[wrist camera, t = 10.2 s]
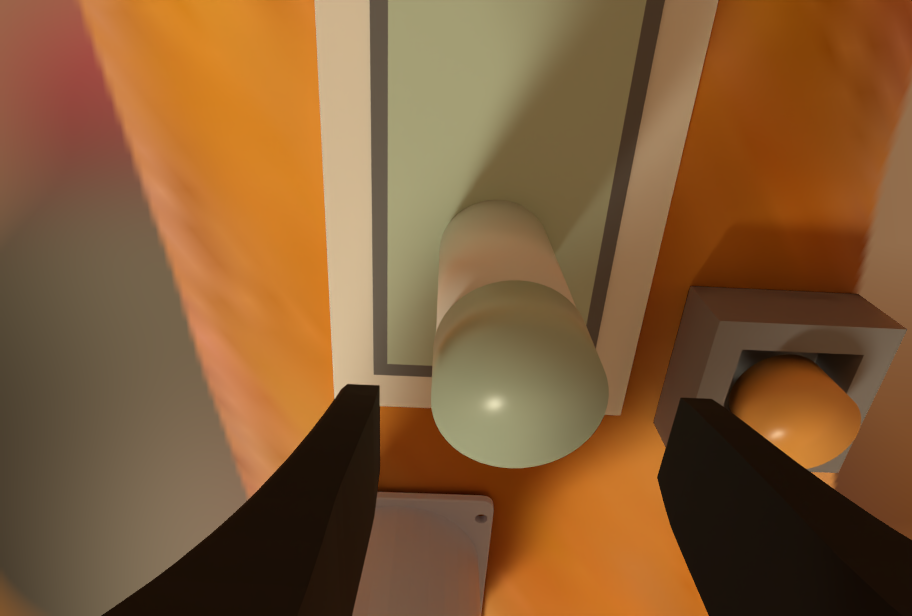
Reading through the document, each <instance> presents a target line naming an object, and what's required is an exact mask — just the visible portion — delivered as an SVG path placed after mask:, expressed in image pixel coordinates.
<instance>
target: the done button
mask: <svg viewBox="0 0 912 616" xmlns="http://www.w3.org/2000/svg"><path fill="white" fill-rule="evenodd" d="M729 408H730V411H731V412H732V413H733V414H734V415H736V416H737V417H738V418H740V419H741V420H742V421H744V422H745V423H746V424H748V425H749V426H750V427H752V428H753V429H754V430H755V431H757V432H758V433H759V434H761V435H762V436H763V437H765V438H766V439H767V440H768V441H770V442H771V443H772V444H774V445H775V446H776V447H778V448H779V449H780V450H782V451H783V452H784V453H785V454H787V455H788V456H789V457H791V458H792V459H793V460H795V461H796V462H797V463H799V464H800V465H801V466H803V467H804V468H805V469H809V468H813V467H816V466H819V465H822V464H824V463H826V462H828V461H830V460H832V459H834V458H835V457H837V456H838V455H840V454H841V453H842V452H843V451H844V450H846V449H847V448H848V447H849V445H850V444H851V443H852V442H853V440H854V439H855V437H856V435H857V434H858V431H859V429H860V425H861V413H860V410H859V408H858V406H857V404H856V403H855V402H854V401H853V400H852V399H851V398H850V397H849V396H848V395H847V394H846V393H845V392H844V391H843V390H842V389H841V388H840V387H839V386H838V385H837V384H836V383H835V382H834V381H833V380H832V379H831V378H830V377H829V376H828V375H827V374H826V373H825V372H824V371H823V370H822V369H821V368H820V367H819V366H818V365H817V364H816V363H815V362H813V361H812V360H810V359H808V358H806V357H803V356H799V355H778V356H773V357H770V358H767V359H764V360H762V361H760V362H758V363H756V364H754V365H753V366H751V367H750V368H748V369H747V370H746V371H745V372H744V373H743V374H742V375H741V376H740V377H739V378H738V379H737V381H736V382H735V384H734V385H733V387H732V390H731V392H730V396H729Z"/></svg>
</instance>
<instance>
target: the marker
mask: <svg viewBox="0 0 912 616" xmlns="http://www.w3.org/2000/svg"><path fill="white" fill-rule="evenodd" d="M608 398H609V386H608V381H607V376H606V373H605V371H604V368H603V365H602V363H601V361H600V358H599V356H598V353H597V351H596V349H595V346H594V344H593V341H592V339H591V336H590V334H589V332H588V329H587V327H586V324H585V322H584V320H583V318H582V316H581V314H580V312H579V311H578V310H577V308H576V306H575V303H574V301H573V298H572V296H571V293H570V291H569V288H568V286H567V283H566V281H565V279H564V276H563V274H562V271H561V269H560V266H559V264H558V261H557V259H556V256H555V254H554V251H553V249H552V247H551V244H550V242H549V239H548V237H547V234H546V232H545V229H544V228H543V226H542V224H541V222H540V221H539V220H538V218H537V217H536V216H535V215H534V214H533V213H532V212H530V211H529V210H528V209H526V208H524V207H523V206H521V205H519V204H516V203H513V202H510V201H505V200H488V201H482V202H478V203H476V204H473V205H471V206H469V207H467V208H465V209H463V210H462V211H461V212H459V213H458V214H457V215H456V216H455V217H454V218H453V219H452V220H451V222H450V223H449V224H448V226H447V227H446V229H445V231H444V233H443V236H442V239H441V243H440V250H439V274H438V299H437V323H436V335H435V338H434V346H433V366H432V387H431V408H432V413H433V417H434V420H435V423H436V425H437V427H438V429H439V431H440V433H441V434H442V435H443V437H444V438H445V439H446V440H447V441H448V442H449V443H450V444H451V445H452V446H453V447H454V448H455V449H456V450H458V451H459V452H460V453H462V454H464V455H465V456H467V457H469V458H471V459H473V460H475V461H478V462H480V463H484V464H487V465H490V466H496V467H502V468H527V467H534V466H539V465H543V464H547V463H550V462H553V461H555V460H558V459H560V458H562V457H564V456H566V455H568V454H570V453H571V452H573V451H574V450H576V449H577V448H579V447H580V446H581V445H582V444H583V443H585V442H586V441H587V440H588V439H589V438H590V437H591V435H592V434H593V433H594V432H595V431H596V429H597V428H598V426H599V425H600V423H601V421H602V419H603V417H604V415H605V412H606V408H607V405H608Z"/></svg>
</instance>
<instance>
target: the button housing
mask: <svg viewBox="0 0 912 616" xmlns="http://www.w3.org/2000/svg"><path fill="white" fill-rule="evenodd" d="M906 331H907V329H906V328H904V327H903V326H902V325H900V324H899V323H898V322H896V321H895V320H893V319H892V318H891V317H889V316H888V315H886V314H885V313H883V312H882V311H881V310H879V309H878V308H877V307H875V306H874V305H872V304H871V303H870V302H868V301H867V300H866V299H864V298H863V297H861V296H860V295H859V294H847V293H826V292H805V291H784V290H763V289H742V288H721V287H700V286H690V289H689V293H688V297H687V300H686V304H685V308H684V311H683V315H682V319H681V322H680V326H679V330H678V334H677V337H676V341H675V345H674V348H673V352H672V356H671V359H670V363H669V367H668V370H667V374H666V378H665V381H664V385H663V389H662V393H661V396H660V400H659V404H658V407H657V411H656V415H655V418H654V424H655V427H656V429H657V431H658V433H659V435H660V437H661V439H662V441H663V443H664V445H665V447H666V446H667V442H668V439H669V435H670V432H671V429H672V425H673V422H674V418H675V415H676V411H677V408H678V405H679V401H680V398H705V399H713V400H714V401H716V402H717V403H719V404H720V405H722V406H723V407H725V408H726V409H728V410H729V411H730V408H729V396H730V392H731V390H732V387H733V385H734V384H735V382H736V381H737V379H738V378H739V377H740V376H741V375H742V374H743V373H744V372H745V371H746V370H747V369H748V368H750V367H751V366H753V365H754V364H756V363H758V362H760V361H762V360H764V359H767V358H770V357H773V356H778V355H799V356H803V357H806V358H808V359H810V360H812V361H813V362H815V363H816V364H817V365H818V366H819V367H820V368H821V369H822V370H823V371H824V372H825V373H826V374H827V375H828V376H829V377H830V378H831V379H832V380H833V381H834V382H835V383H836V384H837V385H838V386H839V387H840V388H841V389H842V390H843V391H844V392H845V393H846V394H847V395H848V396H849V397H850V398H851V399H852V400H853V401H854V402H855V403H856V404H857V406H858V408H859V410H860V413H861V424H862V422H863V420H864V418H865V416H866V414H867V412H868V410H869V408H870V406H871V404H872V402H873V399H874V397H875V395H876V393H877V391H878V389H879V387H880V385H881V383H882V381H883V379H884V377H885V375H886V372H887V370H888V368H889V366H890V364H891V362H892V360H893V358H894V355H895V354H896V352H897V350H898V347H899V345H900V344H901V341H902V339H903V337H904V335H905V333H906ZM730 412H731V411H730ZM860 426H861V425H860ZM853 441H854V440H853ZM852 443H853V442H852ZM852 443H851V444H850V445H849V447H848V448H847V449H846V450H844V451H843V452H842V453H841V454H840V455H838V456H837V457H835V458H834V459H832V460H830V461H828V462H826V463H824V464H822V465H819V466H816V467H813V468H809V469H807V470H808V471H810V472H830V473H838V472H839V470H840V468H841V466H842V464H843V462H844V460H845V457H846V455H847V453H848V451H849V449H850V447H851V445H852Z"/></svg>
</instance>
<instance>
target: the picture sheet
mask: <svg viewBox="0 0 912 616" xmlns="http://www.w3.org/2000/svg"><path fill="white" fill-rule="evenodd" d="M717 5H718V0H315V19H316V39H317V59H318V79H319V99H320V119H321V139H322V159H323V179H324V199H325V219H326V239H327V259H328V279H329V299H330V319H331V339H332V359H333V379H334V399H335V398H336V396H337V395H338V393H339V392H340V390H341V389H342V388H343V387H344V386H346V385H347V384H359V385H380V406H390V407H416V408H431V387H432V366H433V346H434V338H435V335H436V323H437V299H438V274H439V250H440V243H441V239H442V236H443V233H444V231H445V229H446V227H447V226H448V224H449V223H450V222H451V220H452V219H453V218H454V217H455V216H456V215H457V214H458V213H459V212H461V211H462V210H463V209H465V208H467V207H469V206H471V205H473V204H476V203H478V202H482V201H488V200H505V201H510V202H513V203H516V204H519V205H521V206H523V207H524V208H526V209H528V210H529V211H530V212H532V213H533V214H534V215H535V216H536V217H537V218H538V220H539V221H540V222H541V224H542V226H543V228H544V229H545V232H546V234H547V237H548V239H549V242H550V244H551V247H552V249H553V251H554V254H555V256H556V259H557V261H558V264H559V266H560V269H561V271H562V274H563V276H564V279H565V281H566V283H567V286H568V288H569V291H570V293H571V296H572V298H573V301H574V303H575V306H576V308H577V310H578V311H579V312H580V314H581V316H582V318H583V320H584V322H585V324H586V327H587V329H588V332H589V334H590V336H591V339H592V341H593V344H594V346H595V349H596V351H597V353H598V356H599V358H600V361H601V363H602V365H603V368H604V371H605V373H606V376H607V381H608V386H609V398H608V405H607V408H606V412H605V415H621V411H622V407H623V402H624V398H625V394H626V390H627V386H628V381H629V377H630V373H631V369H632V364H633V360H634V356H635V352H636V347H637V343H638V339H639V335H640V331H641V326H642V322H643V318H644V314H645V309H646V305H647V301H648V297H649V292H650V288H651V284H652V280H653V275H654V271H655V267H656V263H657V259H658V254H659V250H660V246H661V242H662V237H663V233H664V229H665V225H666V220H667V216H668V212H669V208H670V204H671V199H672V195H673V191H674V187H675V182H676V178H677V174H678V170H679V165H680V161H681V157H682V153H683V149H684V144H685V140H686V136H687V132H688V127H689V123H690V119H691V115H692V110H693V106H694V102H695V98H696V94H697V89H698V85H699V81H700V77H701V72H702V68H703V64H704V60H705V55H706V51H707V47H708V43H709V39H710V34H711V30H712V26H713V22H714V17H715V13H716V9H717Z"/></svg>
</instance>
